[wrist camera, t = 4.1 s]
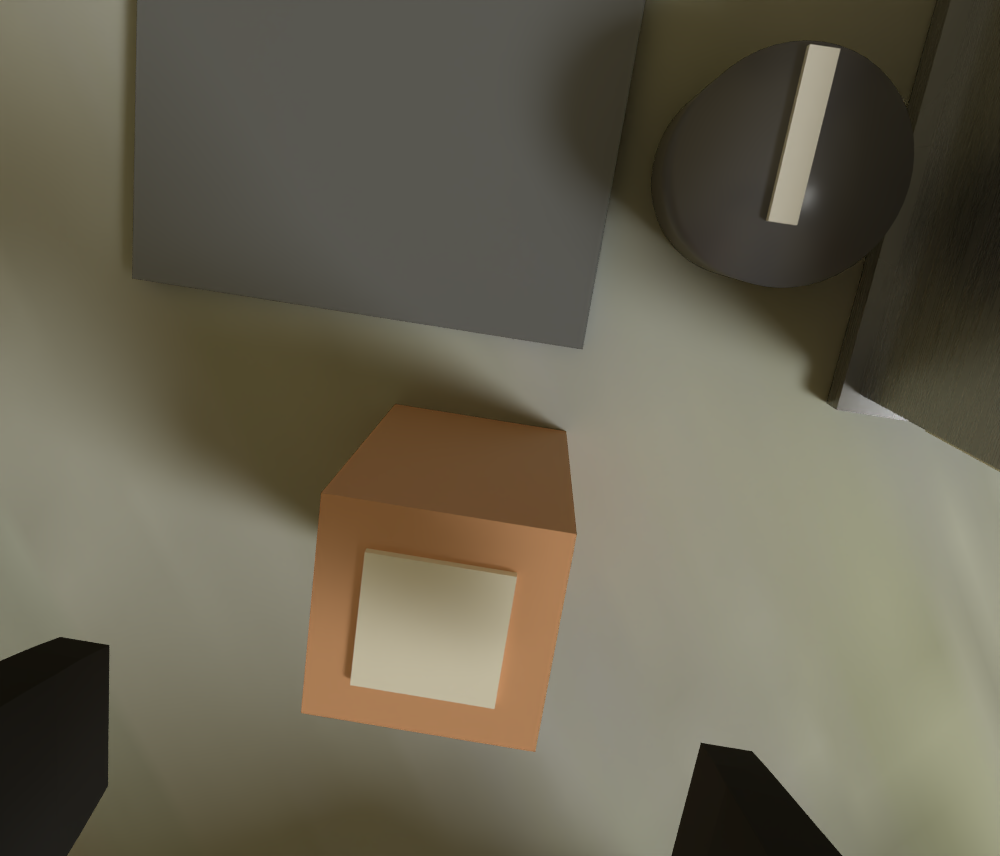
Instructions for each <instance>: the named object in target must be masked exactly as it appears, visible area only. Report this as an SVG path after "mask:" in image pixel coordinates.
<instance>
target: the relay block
mask: <svg viewBox="0 0 1000 856" xmlns="http://www.w3.org/2000/svg"><path fill="white" fill-rule="evenodd" d="M576 535H577V532H576V522H575V513H574V503H573V493H572V484H571V474H570V464H569V455H568V445H567V435H566V431H561V430H555V429H549V428H543V427H536V426H530V425H524V424H517V423H511V422H505V421H499V420H492V419H486V418H480V417H474V416H467V415H461V414H455V413H448V412H442V411H436V410H430V409H423V408H417V407H411V406H405V405H398V404H395V405H394V406H393V407H392V408H391V410H390V411H389V412H388V413H387V414H386V416H385V417H384V418H383V419H382V420H381V422H380V423H379V424H378V425H377V426H376V428H375V429H374V430H373V431H372V432H371V434H370V435H369V436H368V437H367V438H366V440H365V441H364V442H363V443H362V444H361V446H360V447H359V448H358V449H357V450H356V452H355V453H354V454H353V455H352V456H351V458H350V459H349V460H348V461H347V462H346V464H345V465H344V466H343V467H342V468H341V470H340V471H339V472H338V473H337V474H336V476H335V477H334V478H333V479H332V480H331V482H330V483H329V484H328V485H327V486H326V488H325V489H324V490H323V491H322V492H321V500H320V511H319V522H318V533H317V544H316V555H315V566H314V577H313V588H312V599H311V610H310V621H309V632H308V643H307V654H306V665H305V676H304V687H303V698H302V709H301V713H305V714H311V715H317V716H323V717H329V718H335V719H341V720H347V721H353V722H359V723H365V724H371V725H377V726H383V727H389V728H395V729H401V730H407V731H413V732H419V733H425V734H431V735H437V736H443V737H449V738H455V739H461V740H467V741H473V742H479V743H485V744H491V745H497V746H503V747H509V748H515V749H521V750H527V751H533V752H535V750H536V744H537V739H538V734H539V729H540V723H541V718H542V713H543V708H544V703H545V697H546V692H547V687H548V682H549V676H550V671H551V666H552V661H553V656H554V650H555V645H556V640H557V635H558V629H559V624H560V619H561V614H562V609H563V603H564V598H565V593H566V588H567V582H568V577H569V572H570V567H571V561H572V556H573V551H574V546H575V541H576Z"/></svg>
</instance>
